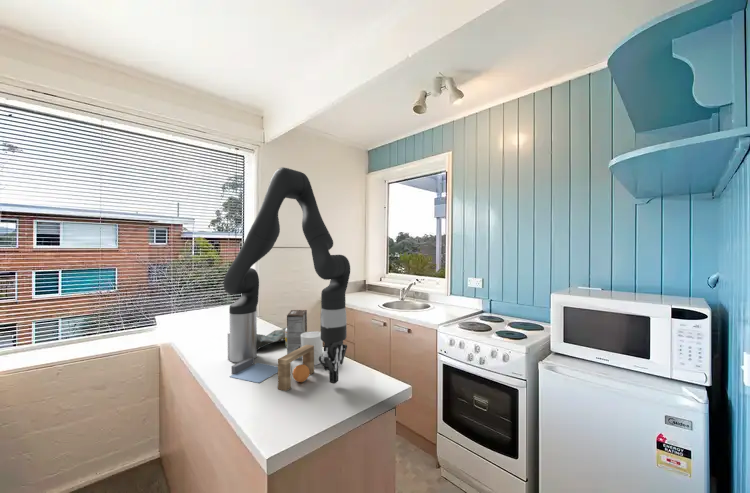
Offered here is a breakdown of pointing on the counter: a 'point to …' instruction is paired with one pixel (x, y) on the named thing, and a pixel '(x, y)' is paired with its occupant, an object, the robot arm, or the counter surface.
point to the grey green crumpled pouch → (270, 338)
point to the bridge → (285, 365)
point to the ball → (301, 373)
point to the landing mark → (256, 373)
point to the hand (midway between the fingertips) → (333, 382)
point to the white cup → (313, 343)
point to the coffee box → (295, 329)
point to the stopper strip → (242, 365)
